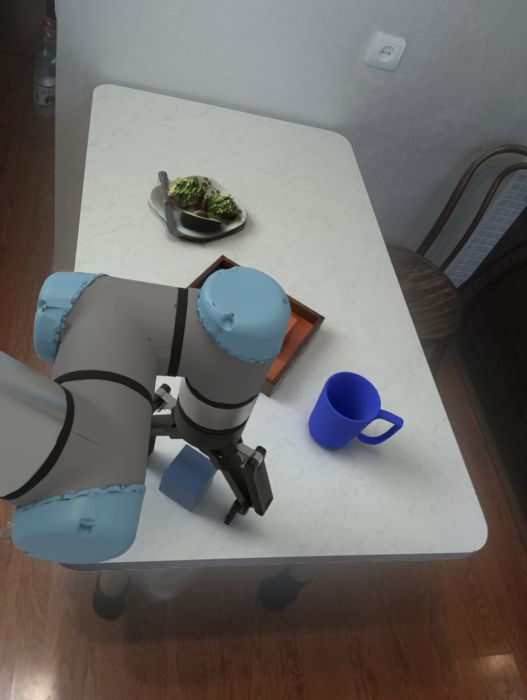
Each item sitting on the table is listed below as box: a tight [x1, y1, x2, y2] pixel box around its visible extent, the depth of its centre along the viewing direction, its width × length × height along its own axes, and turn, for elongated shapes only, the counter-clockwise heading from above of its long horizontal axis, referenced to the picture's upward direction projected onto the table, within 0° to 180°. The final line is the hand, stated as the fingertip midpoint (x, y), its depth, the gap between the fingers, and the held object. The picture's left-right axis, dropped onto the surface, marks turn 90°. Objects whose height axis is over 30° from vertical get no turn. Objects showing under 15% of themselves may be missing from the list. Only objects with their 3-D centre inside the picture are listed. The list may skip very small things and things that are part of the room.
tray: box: [186, 254, 326, 398], centre depth 87 cm, size 21×18×3 cm
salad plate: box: [148, 170, 247, 243], centre depth 102 cm, size 19×18×5 cm
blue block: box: [158, 443, 218, 513], centre depth 68 cm, size 5×5×5 cm
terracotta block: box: [281, 315, 298, 349], centre depth 85 cm, size 5×5×5 cm
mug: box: [308, 371, 404, 450], centre depth 77 cm, size 8×12×10 cm
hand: (187, 485), depth 70 cm, fingers open, 13 cm apart
